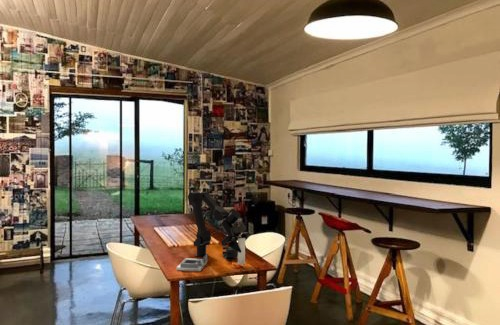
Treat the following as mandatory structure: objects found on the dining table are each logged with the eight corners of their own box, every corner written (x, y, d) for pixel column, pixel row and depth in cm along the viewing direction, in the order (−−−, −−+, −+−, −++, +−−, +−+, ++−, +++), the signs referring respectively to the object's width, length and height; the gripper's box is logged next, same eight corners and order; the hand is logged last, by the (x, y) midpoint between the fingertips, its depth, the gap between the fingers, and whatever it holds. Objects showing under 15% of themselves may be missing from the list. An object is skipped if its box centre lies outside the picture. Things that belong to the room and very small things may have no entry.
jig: (185, 260, 236) (185, 253, 236) (207, 261, 235) (207, 254, 235) (176, 270, 217) (176, 261, 217) (200, 271, 216) (200, 262, 216)
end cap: (238, 259, 241) (238, 248, 241) (226, 260, 239) (226, 249, 239) (233, 255, 251) (233, 244, 251) (222, 256, 249) (222, 245, 248)
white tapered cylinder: (239, 262, 230) (239, 237, 229) (245, 263, 228) (246, 238, 228) (236, 264, 226) (237, 238, 226) (243, 264, 225) (243, 239, 224)
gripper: (225, 222, 222) (239, 245, 215) (248, 218, 236) (262, 240, 229) (214, 234, 228) (228, 257, 221) (237, 229, 242) (251, 251, 235)
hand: (243, 251), depth 226 cm, fingers closed on white tapered cylinder, 4 cm apart
